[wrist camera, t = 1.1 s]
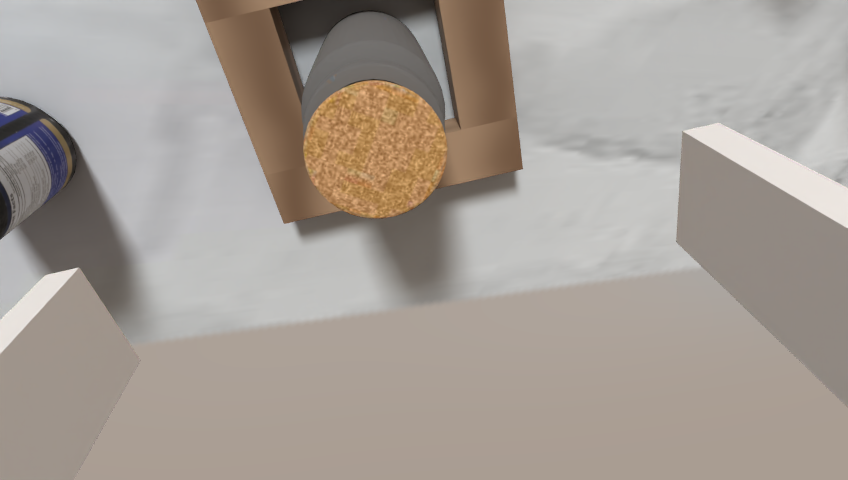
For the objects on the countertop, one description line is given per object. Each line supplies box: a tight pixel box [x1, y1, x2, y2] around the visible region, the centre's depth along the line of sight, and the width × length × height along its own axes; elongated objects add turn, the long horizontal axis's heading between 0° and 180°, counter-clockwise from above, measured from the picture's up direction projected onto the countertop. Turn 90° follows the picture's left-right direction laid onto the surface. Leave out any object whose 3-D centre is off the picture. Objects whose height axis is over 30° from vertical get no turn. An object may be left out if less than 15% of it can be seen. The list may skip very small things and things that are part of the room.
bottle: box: [301, 11, 448, 218], centre depth 23 cm, size 6×6×15 cm
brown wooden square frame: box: [196, 0, 523, 224], centre depth 29 cm, size 15×15×2 cm
